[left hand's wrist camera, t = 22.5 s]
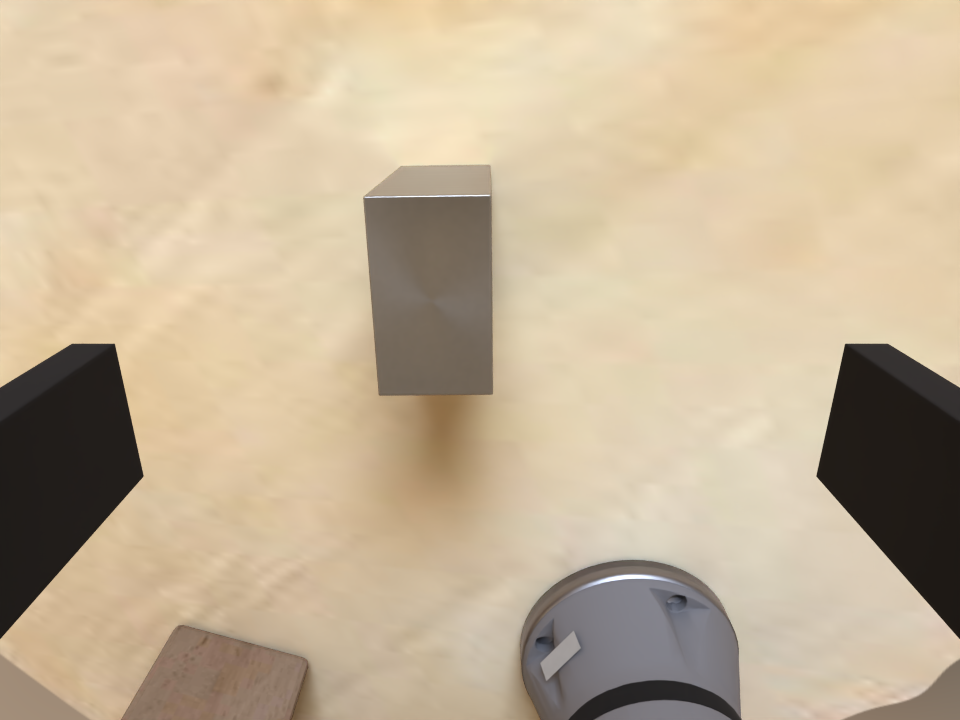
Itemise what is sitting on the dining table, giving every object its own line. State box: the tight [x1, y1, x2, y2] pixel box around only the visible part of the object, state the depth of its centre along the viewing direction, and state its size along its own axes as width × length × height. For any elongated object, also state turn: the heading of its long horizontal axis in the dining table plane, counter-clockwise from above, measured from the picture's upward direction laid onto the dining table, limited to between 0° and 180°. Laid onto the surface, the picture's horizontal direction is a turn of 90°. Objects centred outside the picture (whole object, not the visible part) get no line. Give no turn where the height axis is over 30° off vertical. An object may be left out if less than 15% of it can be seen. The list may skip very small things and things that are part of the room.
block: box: [363, 165, 493, 396], centre depth 33 cm, size 8×5×12 cm, turn 1°
